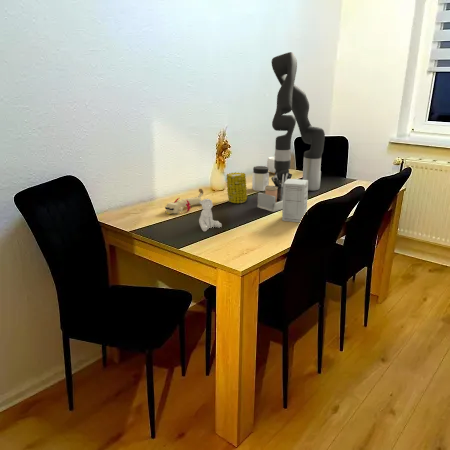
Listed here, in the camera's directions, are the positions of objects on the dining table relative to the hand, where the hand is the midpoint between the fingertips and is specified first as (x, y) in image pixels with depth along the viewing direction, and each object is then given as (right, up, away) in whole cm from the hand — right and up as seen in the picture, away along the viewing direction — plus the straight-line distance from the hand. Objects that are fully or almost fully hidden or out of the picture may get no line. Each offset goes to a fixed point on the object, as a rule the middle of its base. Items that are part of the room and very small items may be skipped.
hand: (281, 194), depth 217 cm
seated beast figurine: (-34, -16, -29) cm, 47 cm away
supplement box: (+3, -12, -18) cm, 22 cm away
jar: (-8, +5, +30) cm, 31 cm away
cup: (+5, +18, +68) cm, 70 cm away
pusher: (-3, -4, -1) cm, 5 cm away
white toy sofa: (-2, -5, 0) cm, 6 cm away
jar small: (-5, -5, -3) cm, 8 cm away
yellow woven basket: (-21, -3, +8) cm, 23 cm away
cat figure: (-45, -7, -5) cm, 46 cm away
